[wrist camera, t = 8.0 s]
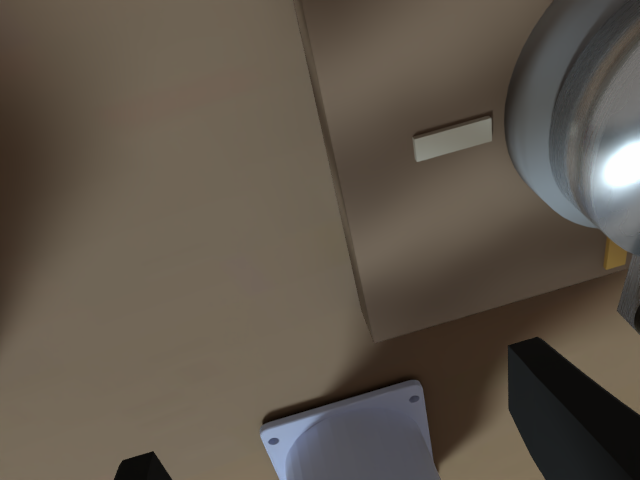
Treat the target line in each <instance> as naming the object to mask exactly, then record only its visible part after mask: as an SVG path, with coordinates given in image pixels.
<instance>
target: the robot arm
mask: <svg viewBox="0 0 640 480" xmlns="http://www.w3.org/2000/svg"><path fill="white" fill-rule="evenodd" d="M508 405H509V411H510V413H511V415H512V418H513V420H514V422H515V424H516V426H517V428H518V430H519V432H520V434H521V437H522V439H523V441H524V443H525V445H526V447H527V449H528V451H529V453H530V455H531V457H532V458H533V460H534V462H535V463H536V465H537V467H538V468H539V470H540V471H541V473H542V475H543V476H544V478H545V479H546V480H640V415H639V414H638V413H636V412H635V411H633V410H632V409H631V408H629V407H628V406H627V405H625V404H624V403H622V402H621V401H620V400H618V399H617V398H616V397H614V396H613V395H612V394H610V393H609V392H608V391H606V390H605V389H604V388H602V387H601V386H600V385H598V384H597V383H596V382H595V381H593V380H592V379H591V378H589V377H588V376H587V375H586V374H584V373H583V372H582V371H581V370H579V369H578V368H577V367H575V366H574V365H573V364H572V363H570V362H569V361H568V360H567V359H566V358H564V357H563V356H562V355H561V354H559V353H558V352H557V351H556V350H555V349H553V348H552V347H551V346H550V345H548V344H547V343H546V342H545V341H544V340H542V339H541V338H539V337H535V338H532V339H528V340H525V341H521V342H518V343H515V344H511V345H508ZM260 436H261V439H262V441H263V444H264V446H265V448H266V450H267V452H268V455H269V457H270V459H271V461H272V464H273V466H274V468H275V470H276V472H277V475H278V477H279V479H280V480H441V479H440V477H439V474H438V472H437V469H436V467H435V464H434V461H433V454H432V447H431V441H430V434H429V427H428V420H427V413H426V407H425V400H424V393H423V388H422V386H421V384H420V382H419V381H418V380H409V381H405V382H402V383H399V384H395V385H392V386H388V387H385V388H382V389H378V390H375V391H372V392H368V393H365V394H362V395H358V396H355V397H352V398H348V399H345V400H342V401H338V402H335V403H331V404H328V405H325V406H321V407H318V408H315V409H311V410H308V411H305V412H301V413H298V414H295V415H291V416H288V417H285V418H281V419H278V420H275V421H271V422H268V423H266V424H264V425H263V426H261V428H260ZM114 480H172V479H171V477H170V476H169V474H168V473H167V471H166V470H165V468H164V467H163V465H162V464H161V462H160V461H159V459H158V458H157V456H156V455H155V453H154V451H152V452H149V453H146V454H142V455H139V456H136V457H132V458H129V459H126V460H123V461H122V462H121V464H120V465H119V468H118V470H117V473H116V475H115V478H114Z"/></svg>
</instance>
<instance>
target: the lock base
mask: <svg viewBox="0 0 640 480" xmlns="http://www.w3.org/2000/svg"><path fill="white" fill-rule="evenodd" d="M293 1H294V6H295V10H296V15H297V19H298V24H299V29H300V33H301V38H302V42H303V47H304V51H305V56H306V60H307V65H308V69H309V74H310V79H311V83H312V88H313V92H314V97H315V101H316V106H317V110H318V115H319V119H320V124H321V129H322V133H323V138H324V142H325V147H326V151H327V156H328V160H329V165H330V169H331V174H332V178H333V183H334V188H335V192H336V197H337V201H338V206H339V210H340V215H341V219H342V224H343V228H344V233H345V238H346V242H347V247H348V251H349V256H350V260H351V265H352V269H353V274H354V278H355V283H356V288H357V292H358V297H359V301H360V306H361V310H362V313H363V316H364V318H365V321H366V323H367V326H368V328H369V331H370V334H371V336H372V339H373V341H374V343H378V342H381V341H384V340H388V339H391V338H395V337H398V336H401V335H405V334H408V333H412V332H415V331H418V330H422V329H425V328H428V327H432V326H435V325H439V324H442V323H445V322H449V321H452V320H456V319H459V318H462V317H466V316H469V315H473V314H476V313H479V312H483V311H486V310H490V309H493V308H496V307H500V306H503V305H506V304H510V303H513V302H517V301H520V300H523V299H527V298H530V297H534V296H537V295H540V294H544V293H547V292H551V291H554V290H557V289H561V288H564V287H568V286H571V285H574V284H578V283H581V282H584V281H588V280H591V279H595V278H598V277H601V276H605V275H608V274H612V273H615V272H618V271H622V270H625V269H629V266H630V262H631V259H632V255H633V254H632V253H630V252H628V251H626V250H624V249H622V248H621V247H620V246H618V245H617V244H615V243H614V242H613V241H612V240H611V239H610V238H608V237H607V236H606V235H605V234H604V233H603V232H602V231H601V230H600V229H598V228H597V227H596V226H595V225H594V224H593V223H592V222H591V221H589V220H588V219H587V218H586V217H585V216H584V215H583V214H582V213H581V212H579V211H578V210H577V209H576V208H575V207H574V206H573V205H572V204H571V203H570V202H569V201H568V200H567V199H566V198H565V197H564V196H563V194H562V193H561V191H560V190H559V188H558V186H557V184H556V182H555V179H554V177H553V174H552V171H551V166H550V161H549V146H548V144H549V132H550V125H551V121H552V116H553V111H554V108H555V105H556V102H557V99H558V96H559V93H560V91H561V89H562V87H563V84H564V82H565V80H566V78H567V76H568V74H569V72H570V70H571V69H572V67H573V65H574V63H575V62H576V60H577V58H578V57H579V55H580V54H581V52H582V51H583V49H584V48H585V47H586V45H587V44H588V42H589V41H590V40H591V38H592V37H593V36H594V35H595V33H596V32H597V31H598V30H599V29H600V28H601V26H602V25H603V24H604V23H605V22H606V21H607V20H608V19H609V18H610V17H611V16H612V15H613V14H614V13H615V12H616V11H617V10H618V9H619V8H620V7H621V6H622V5H623V4H624V3H625V2H627V1H628V0H293Z"/></svg>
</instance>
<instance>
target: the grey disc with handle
mask: <svg viewBox="0 0 640 480" xmlns="http://www.w3.org/2000/svg"><path fill="white" fill-rule="evenodd" d="M548 146H549V161H550V166H551V171H552V174H553V177H554V179H555V182H556V184H557V186H558V188H559V190H560V191H561V193H562V194H563V196H564V197H565V198H566V199H567V200H568V201H569V202H570V203H571V204H572V205H573V206H574V207H575V208H576V209H577V210H578V211H579V212H581V213H582V214H583V215H584V216H585V217H586V218H587V219H588V220H589V221H591V222H592V223H593V224H594V225H595V226H596V227H597V228H598V229H600V230H601V231H602V232H603V233H604V234H605V235H606V236H607V237H608V238H610V239H611V240H612V241H613V242H614V243H615V244H617V245H618V246H620V247H621V248H622V249H624V250H626V251H628V252H630V253H632V254H633V255H632V259H631V262H630V266H629V269H628V273H627V276H626V280H625V283H624V287H623V290H622V294H621V297H620V301H619V305H618V308H617V312H618V313H619V314H620V315H621V316H622V317H623V318H624V319H625V320H626V321H627V322H628V323H629V324H630V325H631V326H632V327H633V328H634V329H635V330H636V331H637V333H638V334H640V0H628V1H627V2H625V3H624V4H623V5H622V6H621V7H620V8H619V9H618V10H617V11H616V12H615V13H614V14H613V15H612V16H611V17H610V18H609V19H608V20H607V21H606V22H605V23H604V24H603V25H602V26H601V28H600V29H599V30H598V31H597V32H596V33H595V35H594V36H593V37H592V38H591V40H590V41H589V42H588V44H587V45H586V47H585V48H584V49H583V51H582V52H581V54H580V55H579V57H578V58H577V60H576V62H575V63H574V65H573V67H572V69H571V70H570V72H569V74H568V76H567V78H566V80H565V82H564V84H563V87H562V89H561V91H560V93H559V96H558V99H557V102H556V105H555V108H554V111H553V116H552V121H551V125H550V132H549V144H548Z"/></svg>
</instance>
